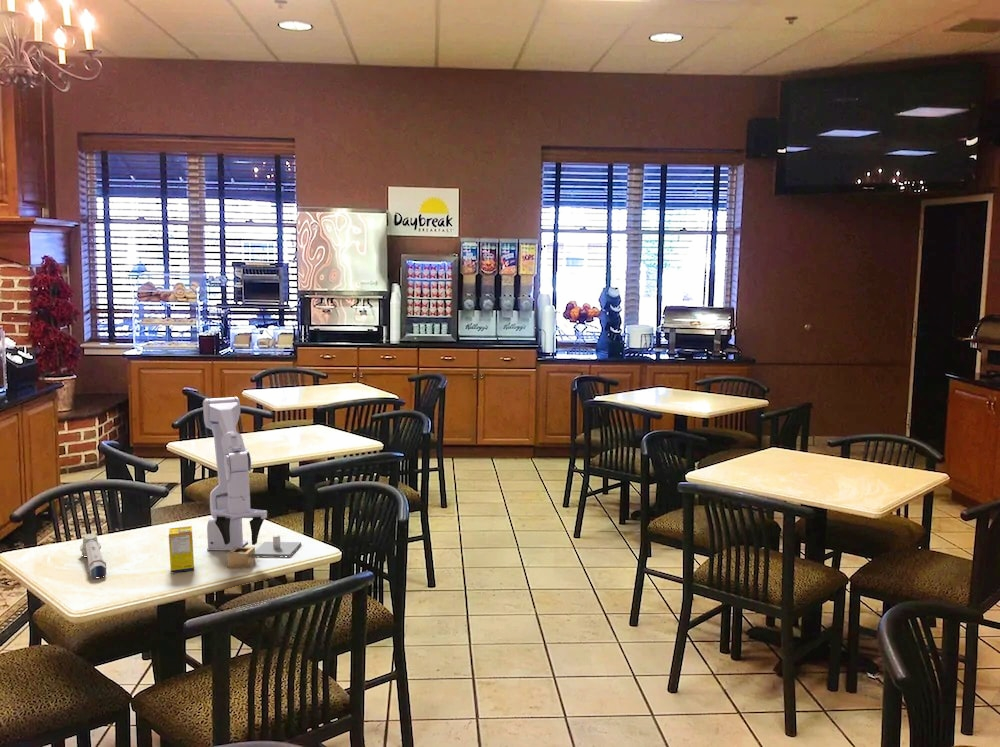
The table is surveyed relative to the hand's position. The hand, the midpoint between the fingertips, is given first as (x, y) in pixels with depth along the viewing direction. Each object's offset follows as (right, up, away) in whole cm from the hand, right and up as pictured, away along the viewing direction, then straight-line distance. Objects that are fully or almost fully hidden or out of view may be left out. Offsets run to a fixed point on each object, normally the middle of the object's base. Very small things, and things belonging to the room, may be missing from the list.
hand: (240, 543), depth 230 cm
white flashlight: (-41, -7, +1) cm, 41 cm away
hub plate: (+7, -5, +12) cm, 15 cm away
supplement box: (-15, -7, -2) cm, 17 cm away
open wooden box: (0, -6, +1) cm, 6 cm away
